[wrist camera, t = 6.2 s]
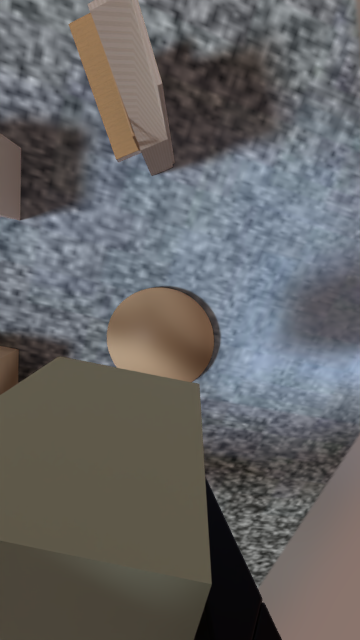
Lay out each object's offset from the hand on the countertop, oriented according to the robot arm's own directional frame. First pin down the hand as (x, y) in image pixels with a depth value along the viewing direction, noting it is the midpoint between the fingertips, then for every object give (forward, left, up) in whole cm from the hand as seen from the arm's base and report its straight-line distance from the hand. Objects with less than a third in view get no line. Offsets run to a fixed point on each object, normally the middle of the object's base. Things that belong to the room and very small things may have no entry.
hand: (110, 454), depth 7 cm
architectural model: (+15, +3, -13) cm, 20 cm away
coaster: (0, 0, -12) cm, 12 cm away
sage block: (0, 0, -1) cm, 1 cm away
